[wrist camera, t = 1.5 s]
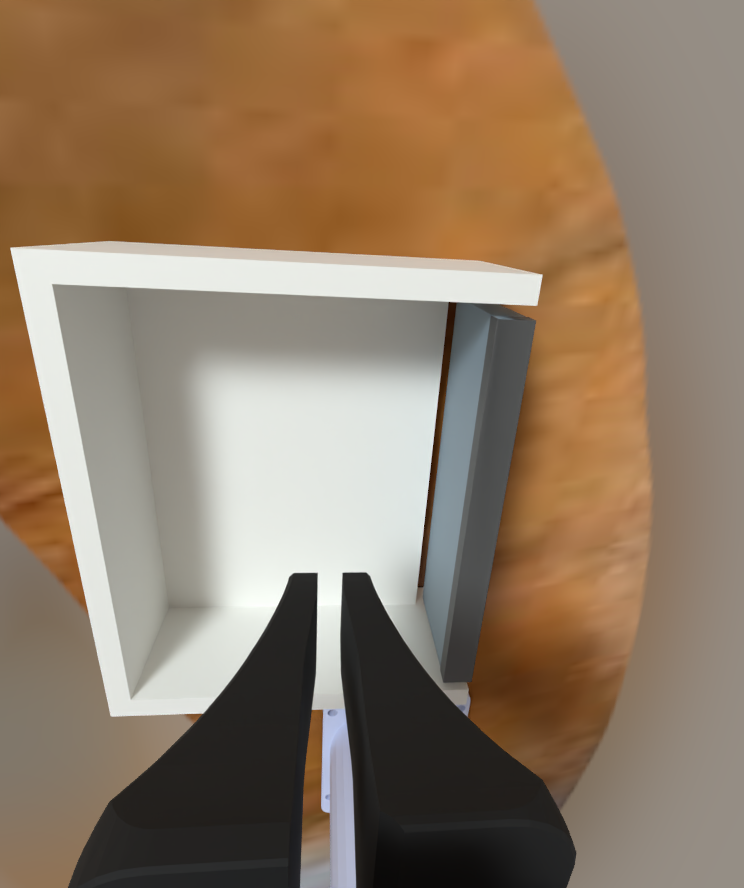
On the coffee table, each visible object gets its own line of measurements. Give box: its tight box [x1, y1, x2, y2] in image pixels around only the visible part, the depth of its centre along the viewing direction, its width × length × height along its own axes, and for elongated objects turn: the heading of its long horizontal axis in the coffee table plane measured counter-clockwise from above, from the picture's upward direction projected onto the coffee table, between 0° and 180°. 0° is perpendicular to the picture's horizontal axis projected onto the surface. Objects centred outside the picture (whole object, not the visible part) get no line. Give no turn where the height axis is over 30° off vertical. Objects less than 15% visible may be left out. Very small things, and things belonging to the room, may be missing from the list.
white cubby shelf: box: [10, 241, 542, 716], centre depth 19 cm, size 16×13×6 cm
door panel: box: [423, 302, 536, 683], centre depth 19 cm, size 14×1×5 cm, turn 177°
